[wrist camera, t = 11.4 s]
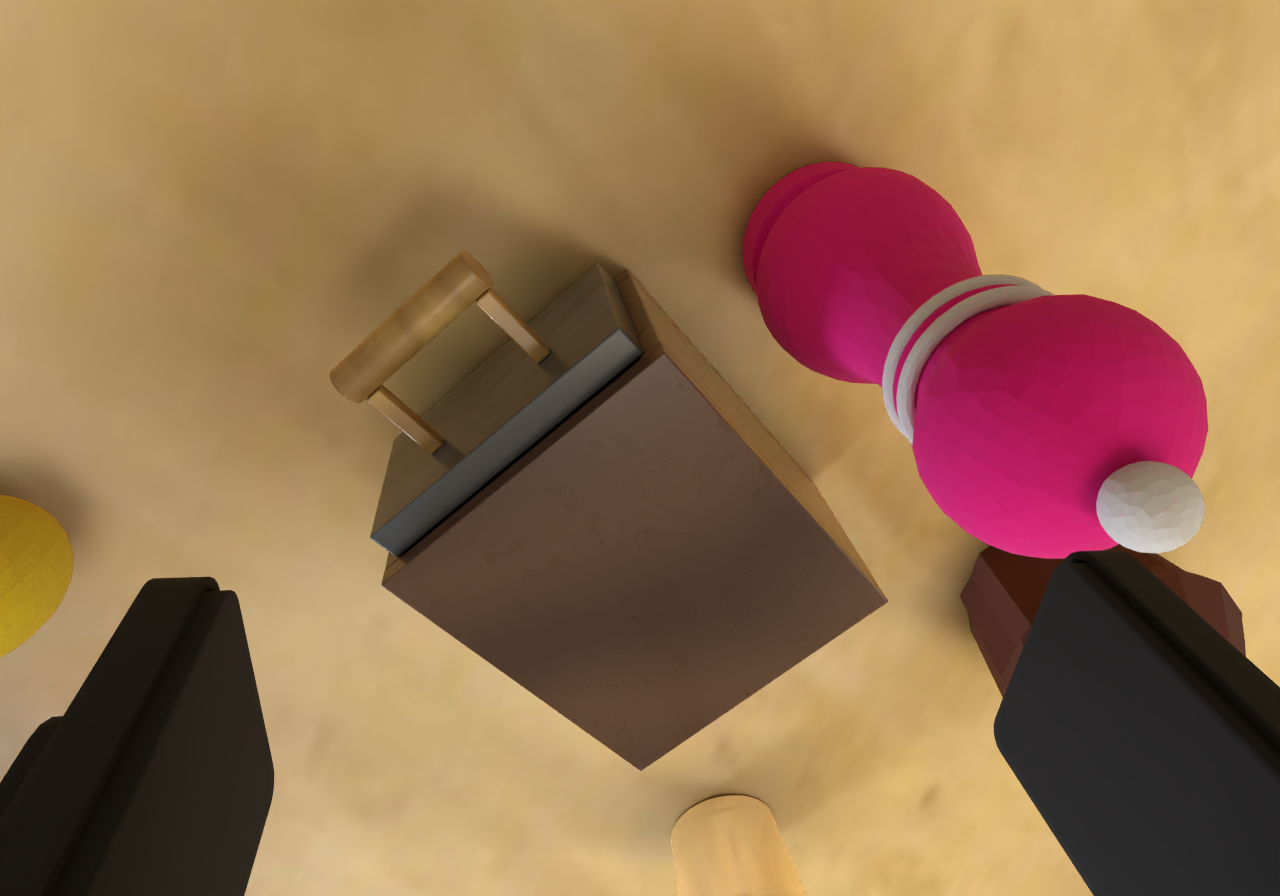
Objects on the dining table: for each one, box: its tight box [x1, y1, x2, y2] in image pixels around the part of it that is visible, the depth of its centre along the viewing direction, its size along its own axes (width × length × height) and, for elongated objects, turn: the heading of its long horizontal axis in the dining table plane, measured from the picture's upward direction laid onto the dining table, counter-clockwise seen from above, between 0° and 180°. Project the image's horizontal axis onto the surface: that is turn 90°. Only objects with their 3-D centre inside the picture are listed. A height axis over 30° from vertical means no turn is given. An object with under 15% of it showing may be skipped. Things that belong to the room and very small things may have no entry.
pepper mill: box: [743, 162, 1208, 559], centre depth 24 cm, size 7×7×20 cm
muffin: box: [960, 544, 1246, 697], centre depth 39 cm, size 12×11×10 cm
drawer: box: [330, 251, 643, 557], centre depth 30 cm, size 17×11×7 cm, turn 39°
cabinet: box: [382, 270, 888, 771], centre depth 32 cm, size 14×12×9 cm
